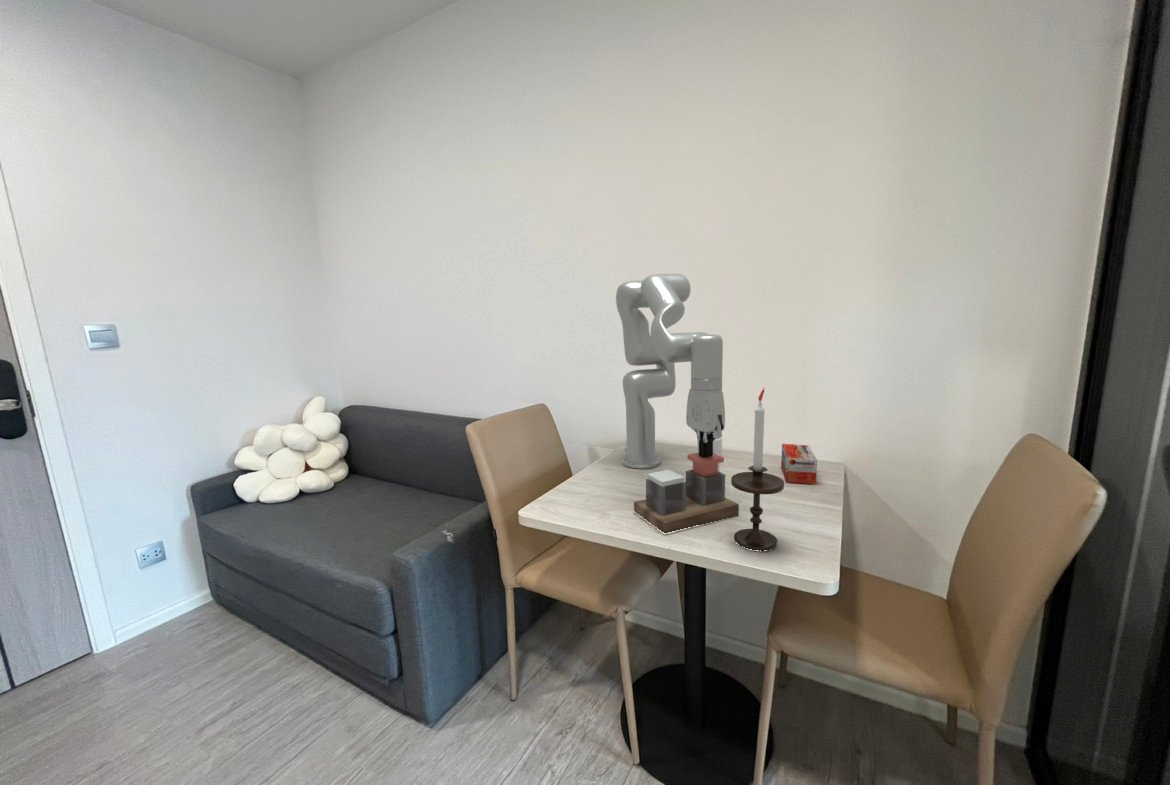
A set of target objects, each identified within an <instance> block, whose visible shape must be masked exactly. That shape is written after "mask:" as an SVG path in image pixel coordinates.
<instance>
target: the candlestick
mask: <svg viewBox="0 0 1170 785" xmlns="http://www.w3.org/2000/svg"><path fill="white" fill-rule="evenodd" d="M764 393H765V387H763V388H762V390H761V392H760V393H759V396H758V404H757V407H755V408H754V429H753V430H754V431H753V432H754V435H753V465H752V466H748V467H747V469H748V470H749V471H743V472H738V473H735V474H733V475H732V476H731V480H730V483H731V486H732V487H733V488H734V489H736V490H739V491H741V492H744V493H749V494H753V504H752V506H751V507H750V508H749V512H750V514H751V515H752V517H750V519H749V521H750V522H751V523H752V528H743V529H740V530H737V531H736V532H735V533H734V534H733V539H734V540H735V541H734V543H735V542H737V543H738V544H739V545H740V546H743V547H745V548H748V549H752V550H759V551H760V550H761V551H764V550H770V549H773V548H775V547H776V546H778V538H777V537H776V536H775V535H774V534H772V533H771V532H768V531H766V530H763V529H760V524H762V522H763V520H762V519H761V515H762V514H764V509H763V508H762V507H761V495H774V494H777V493H782V491H784V489H785V481H784V480H783V479H782V478H781V477H779V476H778V475H775V474H770V473H768V468H767V467H765V466H764V465H763V461H764V460H763V459H764V434H765V433H764V431H765V430H764V429H765V407H763V404H762V400H763V397H764ZM766 472H767V473H766ZM740 546H739V547H740ZM776 548H777V547H776ZM776 548H775V549H776ZM773 550H774V549H773Z"/></svg>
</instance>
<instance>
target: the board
mask: <svg viewBox="0 0 1170 785" xmlns="http://www.w3.org/2000/svg"><path fill="white" fill-rule="evenodd" d="M725 496H726V474H724V473H723V472H722V471H721V472H720V471H718V474H717V475H713V476H708V477H702V476H699V475H697V474H695V473H693V469H689V470H685V481H684V482H682V483H678V484H673V485H669V486H664V487H661V486H660V485H658V484H656V483H654V482H653V481H651V480H649V479H648V478H646V479H645V499H641V500H637V501H636V500H635V501H633V512H634V511H635V512H636V513H637V514H639V515H640V516H642V517H643V518H644V519H646V520H647V521H648V522H650V523H651V524H652V525H654V526H655V527H657V528H658V529H659V530H661V531H662V532H664V533H668V532H672V531H676V530H680V529H684V528H688V527H693V526H696V525H702V524H705V525H707V524H706V523H709V524H711V523H710V522H713V523H715V522H714V521H717V522H720V521H719V520H721V521H723V520H722V519H724V520H727V518H728V519H731V518H732V519H733V518H735V517H738V516H740V515H739V514H740V509H739V508H740V504H739V503H737V502H735V501H733V500H731V499H729V498H727V497H725ZM702 526H703V525H702Z"/></svg>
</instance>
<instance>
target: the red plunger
mask: <svg viewBox="0 0 1170 785" xmlns="http://www.w3.org/2000/svg"><path fill="white" fill-rule="evenodd" d="M686 458H687V460H689V461H690V462H692V470H693V473H695V474H697V475H699V476H702V477H708V476H713V475H717V474H718V463H720V464H721V463H724V460H725V457H724V456H722V455H721V456H719V455H717V454H714V453H713V456H710V457H705V458H703V457H700V456H699V453H698V452H694V453H689V454H687V456H686Z"/></svg>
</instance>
